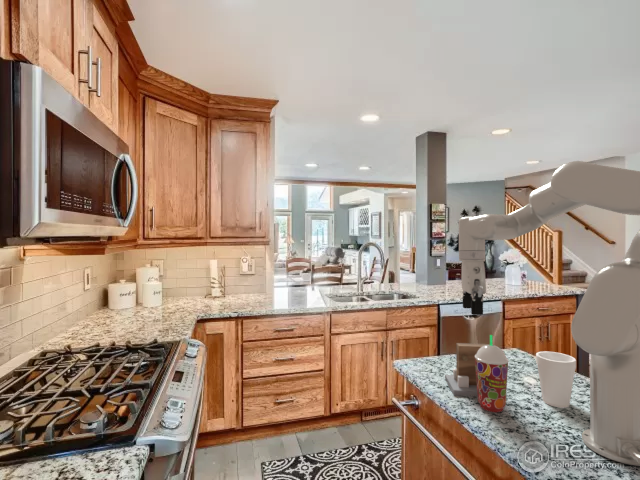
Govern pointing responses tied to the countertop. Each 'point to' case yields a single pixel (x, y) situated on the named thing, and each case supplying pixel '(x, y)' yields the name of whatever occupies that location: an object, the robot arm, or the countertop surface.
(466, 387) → the hinge base
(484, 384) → the smoothie
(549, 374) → the foam cup
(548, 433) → the countertop surface
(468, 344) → the door
